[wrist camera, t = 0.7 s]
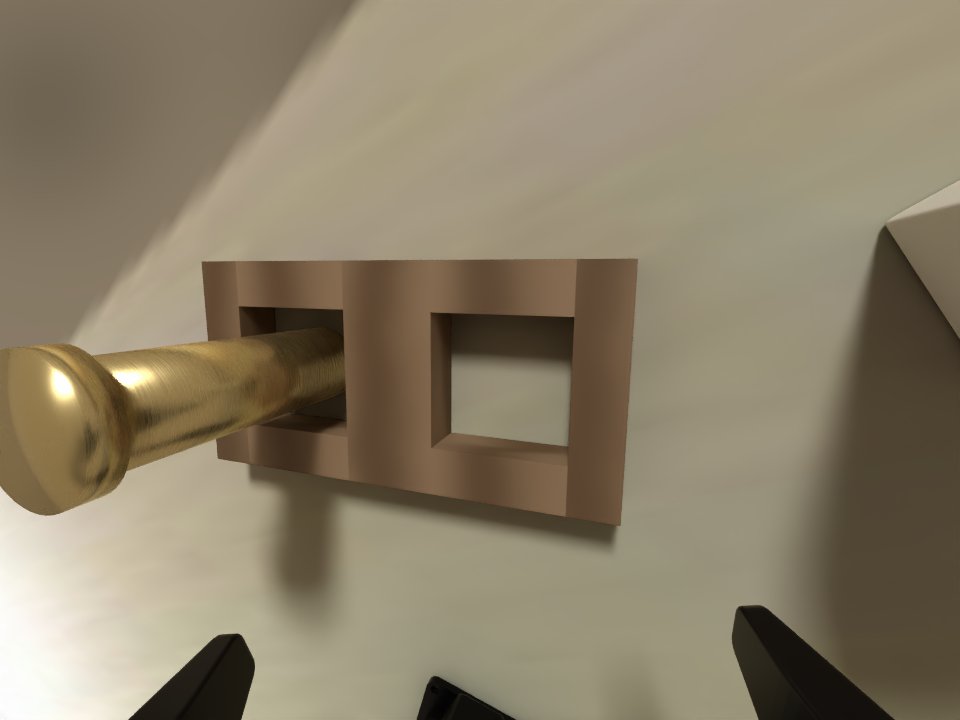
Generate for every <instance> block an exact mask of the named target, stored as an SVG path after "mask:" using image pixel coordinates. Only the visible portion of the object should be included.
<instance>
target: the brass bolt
mask: <svg viewBox="0 0 960 720" xmlns="http://www.w3.org/2000/svg"><path fill="white" fill-rule="evenodd" d="M345 389H346V382H345V354H344V339H343V338H342V337H341V336H340V335H339V334H338V333H336V332H335V331H333V330H330V329H327V328H311V329H303V330H295V331H287V332H279V333H271V334H263V335H255V336H247V337H238V338H230V339H222V340H214V341H206V342H198V343H190V344H182V345H174V346H166V347H158V348H150V349H142V350H134V351H126V352H118V353H110V354H102V355H94V356H91V355H89V354H88V353H87V352H85V351H84V350H82V349H80V348H78V347H75V346H73V345H69V344H48V345H37V346H27V347H16V348H6V349H2V350H0V486H1V487H2V489H3V490H4V491H5V492H6V493H7V494H8V495H9V496H10V497H11V498H12V499H13V500H14V501H15V502H16V503H17V504H19V505H20V506H22V507H23V508H25V509H27V510H29V511H30V512H33V513H36V514H39V515H45V516H47V515H56V514H59V513H62V512H65V511H67V510H70V509H72V508H75V507H77V506H80V505H82V504H85V503H88V502H90V501H93V500H95V499H98V498H100V497H103V496H105V495H107V494H109V493H111V492H112V491H113V490H114V489H115V488H116V487H117V486H118V485H119V484H120V482H121V481H122V479H123V478H124V475H125V473H126V471H128V470H131V469H134V468H137V467H140V466H142V465H145V464H148V463H151V462H153V461H156V460H159V459H162V458H165V457H167V456H170V455H173V454H176V453H178V452H181V451H184V450H187V449H190V448H192V447H195V446H198V445H201V444H203V443H206V442H209V441H212V440H215V439H217V438H220V437H223V436H226V435H229V434H231V433H234V432H237V431H240V430H242V429H245V428H248V427H251V426H254V425H256V424H259V423H262V422H265V421H267V420H270V419H273V418H276V417H279V416H281V415H284V414H287V413H290V412H293V411H295V410H298V409H301V408H304V407H306V406H309V405H312V404H315V403H318V402H320V401H323V400H326V399H329V398H331V397H334V396H337V395H339V394H340V393H342V392H343V391H344V390H345Z"/></svg>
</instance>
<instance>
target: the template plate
mask: <svg viewBox="0 0 960 720" xmlns="http://www.w3.org/2000/svg"><path fill="white" fill-rule="evenodd" d="M637 264H638V259H524V260H372V261H221V262H202V272H203V284H204V296H205V308H206V320H207V332H208V341H214V340H222V339H230V338H238V337H247V336H255V335H263V334H271V333H275V316H274V307H280V308H311V309H342V310H343V325H344V354H345V382H346V410H347V420H340V419H332V418H323V417H315V416H307V415H298V414H290V413H287V414H284V415H281V416H279V417H276V418H273V419H270V420H267V421H265V422H262V423H259V424H256V425H254V426H251V427H248V428H245V429H242V430H240V431H237V432H234V433H231V434H229V435H226V436H223V437H220V438H217V439H216V442H217V454H218V459H223V460H229V461H235V462H241V463H247V464H253V465H259V466H265V467H271V468H277V469H283V470H289V471H295V472H301V473H307V474H313V475H319V476H325V477H331V478H337V479H343V480H349V481H355V482H361V483H367V484H373V485H379V486H385V487H391V488H397V489H403V490H409V491H415V492H421V493H427V494H433V495H439V496H445V497H451V498H457V499H463V500H468V501H474V502H480V503H486V504H492V505H498V506H504V507H510V508H516V509H522V510H528V511H534V512H540V513H546V514H552V515H558V516H564V517H570V518H576V519H582V520H588V521H594V522H600V523H606V524H612V525H618V526H620V525H621V510H622V494H623V479H624V464H625V448H626V433H627V418H628V402H629V387H630V372H631V356H632V341H633V326H634V310H635V295H636V280H637ZM451 313H466V314H497V315H528V316H559V317H574V337H573V359H572V381H571V404H570V426H569V447H565V446H557V445H549V444H540V443H532V442H524V441H515V440H507V439H499V438H490V437H482V436H474V435H465V434H457V433H451Z"/></svg>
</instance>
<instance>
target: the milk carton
mask: <svg viewBox="0 0 960 720" xmlns="http://www.w3.org/2000/svg"><path fill="white" fill-rule="evenodd" d="M885 225H886V227H887V228H888V230H889V232H890V233H891V235H892V236H893V238H894V239H895V241H896V242H897V244H898V245H899V247H900V248H901V250H902V251H903V253H904V255H905V256H906V258H907V259H908V261H909V262H910V264H911V265H912V267H913V268H914V270H915V271H916V273H917V274H918V276H919V277H920V279H921V281H922V282H923V284H924V285H925V287H926V288H927V290H928V291H929V293H930V294H931V296H932V297H933V299H934V300H935V302H936V303H937V305H938V307H939V308H940V310H941V311H942V313H943V314H944V316H945V317H946V319H947V320H948V322H949V323H950V325H951V326H952V328H953V329H954V331H955V333H956V334H957V336H958V337H959V339H960V180H959V181H957V182H955V183H953V184H952V185H950V186H948V187H946V188H944V189H942V190H941V191H939V192H937V193H935V194H933V195H931V196H930V197H928V198H926V199H924V200H922V201H920V202H919V203H917V204H915V205H913V206H911V207H910V208H908V209H906V210H904V211H902V212H900V213H899V214H897V215H895V216H893V217H892V218H890V219H889V220H887V221H886V223H885Z"/></svg>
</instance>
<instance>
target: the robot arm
mask: <svg viewBox="0 0 960 720" xmlns="http://www.w3.org/2000/svg"><path fill="white" fill-rule="evenodd" d="M732 644H733V649H734V652H735V655H736V658H737V660H738V663H739V666H740V669H741V672H742V674H743V677H744V680H745V683H746V686H747V688H748V691H749V694H750V697H751V700H752V702H753V705H754V708H755V711H756V713H757V716H758V719H759V720H895V719H893V718H892V717H891V716H890V715H889V714H888V713H886V712H885V711H884V710H883V709H882V708H881V707H880V706H878V705H877V704H876V703H875V702H874V701H873V700H872V699H870V698H869V697H868V696H867V695H866V694H865V693H863V692H862V691H861V690H860V689H859V688H858V687H857V686H855V685H854V684H853V683H852V682H851V681H850V680H849V679H847V678H846V677H845V676H844V675H843V674H842V673H841V672H839V671H838V670H837V669H836V668H835V667H834V666H832V665H831V664H830V663H829V662H828V661H827V660H826V659H824V658H823V657H822V656H821V655H820V654H819V653H818V652H816V651H815V650H814V649H813V648H812V647H811V646H810V645H808V644H807V643H806V642H805V641H804V640H803V639H801V638H800V637H799V636H798V635H797V634H796V633H795V632H793V631H792V630H791V629H790V628H789V627H788V626H787V625H785V624H784V623H783V622H782V621H781V620H780V619H779V618H777V617H776V616H775V615H774V614H773V613H772V612H770V611H769V610H768V609H767V608H765V607H763V606H761V605H749V606H739V607H738V608H737V610H736V613H735V620H734V626H733V632H732ZM254 671H255V662H254V659H253V656H252V654H251V652H250V650H249V648H248V646H247V644H246V642H245V640H244V638H243V637H242V636H241V635H240V634H222V635H219V636H217V637H215V638H214V639H212V640H211V641H210V642H209V643H208V644H207V645H206V646H205V647H204V648H203V649H202V650H201V651H200V652H199V653H198V654H197V655H195V656H194V657H193V658H192V659H191V660H190V661H189V662H188V663H187V664H186V665H185V666H184V667H183V668H182V669H181V670H180V671H179V672H178V673H177V674H176V675H175V676H173V677H172V678H171V679H170V680H169V681H168V682H167V683H166V684H165V685H164V686H163V687H162V688H161V689H160V690H159V691H158V692H157V693H156V694H155V695H154V696H152V697H151V698H150V699H149V700H148V701H147V702H146V703H145V704H144V705H143V706H142V707H141V708H140V709H139V710H138V711H137V712H136V713H135V714H134V715H133V716H132V717H130V718H129V719H128V720H241V719H242V715H243V712H244V708H245V705H246V701H247V698H248V694H249V691H250V687H251V683H252V680H253V676H254ZM435 686H436V687H437V688H436V687H435ZM417 720H515V719H513V718H511V717H510V716H508V715H506V714H504V713H502V712H501V711H499V710H497V709H495V708H493V707H492V706H490V705H488V704H486V703H484V702H483V701H481V700H479V699H477V698H475V697H474V696H472V695H470V694H468V693H466V692H465V691H463V690H461V689H459V688H457V687H456V686H454V685H452V684H450V683H448V682H447V681H445V680H443V679H441V678H439V677H437V676H433V677H432V678H431V679H430V681H429V682H428V684H427V687H426V690H425V693H424V697H423V700H422V703H421V707H420V710H419V714H418V717H417Z"/></svg>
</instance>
